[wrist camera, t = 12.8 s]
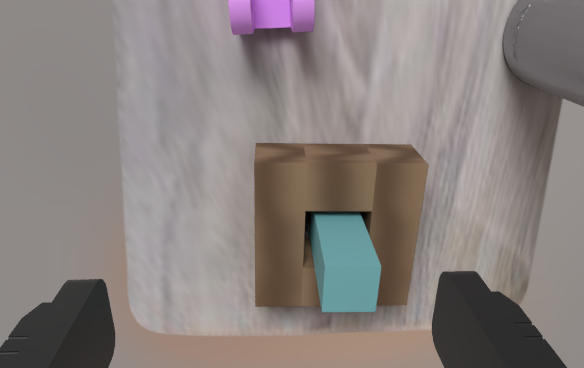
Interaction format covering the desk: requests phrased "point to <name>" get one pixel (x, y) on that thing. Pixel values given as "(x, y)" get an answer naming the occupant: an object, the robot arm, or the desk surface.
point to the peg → (344, 261)
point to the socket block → (334, 197)
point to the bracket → (271, 15)
